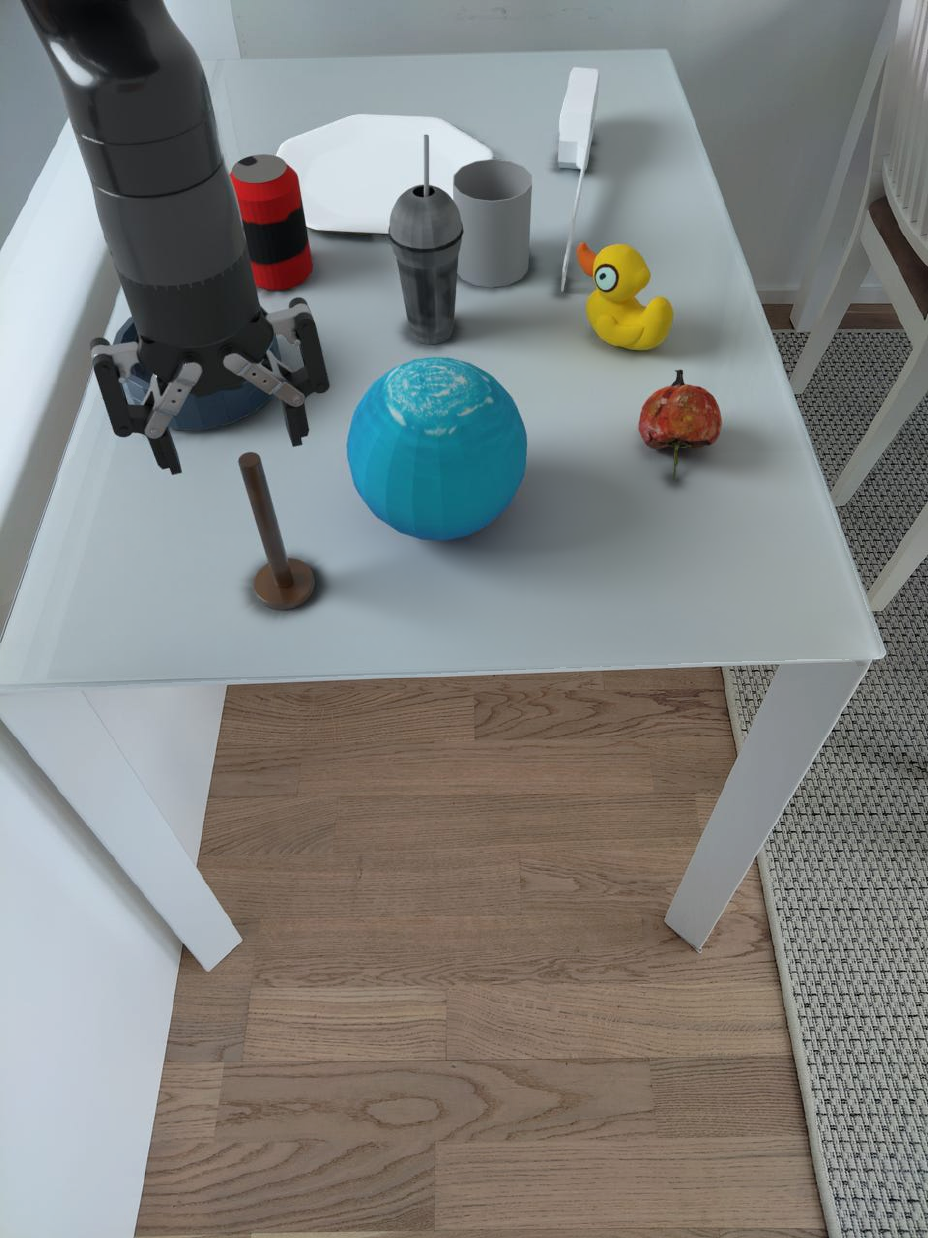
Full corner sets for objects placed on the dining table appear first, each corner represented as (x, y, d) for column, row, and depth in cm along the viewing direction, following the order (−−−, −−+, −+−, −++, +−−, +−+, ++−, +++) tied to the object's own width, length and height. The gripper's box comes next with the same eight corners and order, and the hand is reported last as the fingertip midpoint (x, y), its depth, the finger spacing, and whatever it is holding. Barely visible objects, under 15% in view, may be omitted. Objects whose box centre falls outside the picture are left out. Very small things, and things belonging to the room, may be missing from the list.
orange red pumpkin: (712, 489, 86) (729, 383, 86) (712, 477, 79) (730, 362, 79) (633, 480, 88) (649, 377, 88) (626, 468, 81) (643, 356, 81)
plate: (245, 236, 109) (242, 224, 107) (297, 121, 125) (295, 110, 123) (477, 248, 106) (477, 236, 105) (500, 130, 122) (500, 118, 121)
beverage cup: (386, 343, 97) (366, 154, 80) (414, 303, 100) (400, 115, 84) (450, 359, 95) (442, 169, 79) (476, 318, 99) (474, 129, 83)
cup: (439, 268, 104) (436, 182, 96) (485, 236, 108) (486, 151, 100) (497, 296, 101) (499, 210, 93) (543, 262, 105) (548, 176, 96)
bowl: (138, 450, 88) (121, 408, 84) (120, 351, 96) (103, 309, 92) (298, 412, 90) (289, 370, 86) (266, 320, 99) (257, 277, 95)
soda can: (285, 245, 107) (266, 141, 98) (327, 271, 104) (311, 167, 95) (233, 272, 104) (207, 168, 95) (273, 300, 101) (251, 196, 91)
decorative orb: (356, 458, 87) (336, 323, 74) (515, 448, 87) (520, 312, 75) (357, 582, 78) (334, 453, 66) (533, 571, 78) (543, 440, 66)
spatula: (525, 308, 104) (561, 311, 103) (527, 245, 97) (566, 249, 96) (565, 115, 123) (595, 117, 122) (569, 52, 116) (601, 54, 115)
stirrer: (255, 613, 76) (213, 488, 64) (255, 567, 79) (214, 439, 67) (316, 606, 76) (285, 480, 64) (313, 560, 79) (283, 431, 67)
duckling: (557, 330, 97) (563, 243, 89) (586, 305, 100) (595, 219, 92) (648, 373, 93) (664, 286, 85) (676, 346, 95) (694, 259, 87)
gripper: (53, 304, 49) (141, 514, 62) (316, 253, 51) (347, 464, 64) (43, 229, 53) (128, 440, 66) (287, 186, 55) (321, 396, 69)
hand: (236, 452), depth 65 cm, fingers open, 8 cm apart
